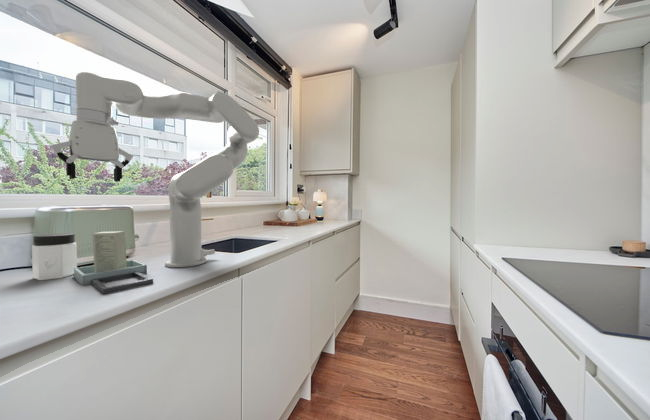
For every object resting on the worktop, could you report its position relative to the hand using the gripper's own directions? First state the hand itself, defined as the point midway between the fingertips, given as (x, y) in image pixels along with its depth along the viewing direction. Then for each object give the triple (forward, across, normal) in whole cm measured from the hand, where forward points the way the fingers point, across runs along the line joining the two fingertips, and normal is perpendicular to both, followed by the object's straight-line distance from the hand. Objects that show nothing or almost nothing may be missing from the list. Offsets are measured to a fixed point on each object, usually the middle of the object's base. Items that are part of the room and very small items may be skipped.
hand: (96, 180), depth 72 cm
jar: (+28, +7, -9) cm, 30 cm away
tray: (+28, -2, +2) cm, 28 cm away
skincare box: (+27, -2, +2) cm, 28 cm away
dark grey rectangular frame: (+28, -2, +15) cm, 32 cm away
